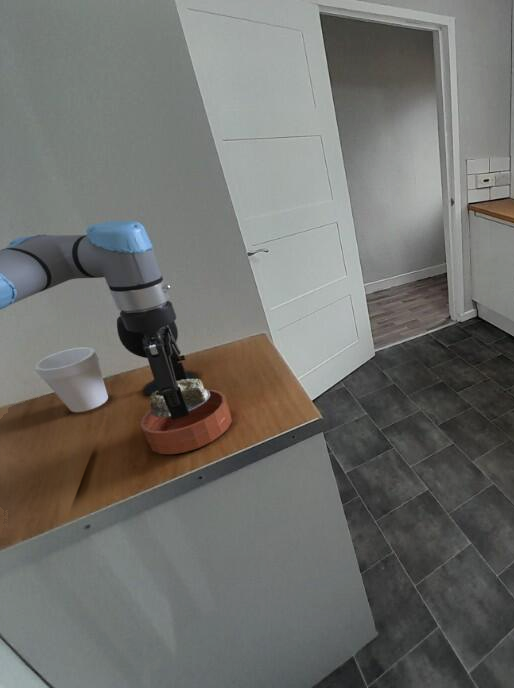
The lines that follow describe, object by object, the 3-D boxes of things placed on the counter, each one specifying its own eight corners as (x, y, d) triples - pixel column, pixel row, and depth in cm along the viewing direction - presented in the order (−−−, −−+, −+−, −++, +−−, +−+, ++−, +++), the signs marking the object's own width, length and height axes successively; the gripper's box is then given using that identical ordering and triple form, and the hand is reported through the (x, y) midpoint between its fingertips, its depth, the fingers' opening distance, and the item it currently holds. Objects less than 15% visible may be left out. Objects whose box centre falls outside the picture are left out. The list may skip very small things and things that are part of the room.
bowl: (147, 466, 79) (136, 442, 77) (154, 425, 90) (145, 403, 87) (233, 438, 87) (226, 415, 84) (230, 403, 97) (223, 382, 95)
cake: (141, 413, 83) (130, 391, 81) (193, 386, 91) (184, 366, 89) (169, 424, 79) (158, 401, 77) (221, 395, 87) (212, 374, 85)
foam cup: (59, 424, 90) (30, 375, 84) (64, 403, 96) (38, 356, 91) (116, 406, 95) (93, 360, 90) (118, 387, 102) (96, 343, 96)
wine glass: (193, 368, 110) (168, 301, 102) (197, 386, 103) (170, 316, 94) (144, 382, 104) (112, 312, 96) (144, 403, 97) (110, 329, 88)
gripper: (166, 323, 70) (204, 426, 79) (174, 283, 86) (204, 372, 95) (107, 334, 66) (154, 441, 75) (127, 290, 83) (163, 382, 92)
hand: (182, 402), depth 85 cm, fingers closed on cake, 10 cm apart
